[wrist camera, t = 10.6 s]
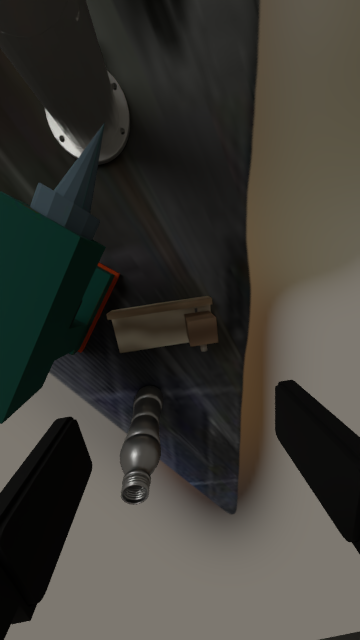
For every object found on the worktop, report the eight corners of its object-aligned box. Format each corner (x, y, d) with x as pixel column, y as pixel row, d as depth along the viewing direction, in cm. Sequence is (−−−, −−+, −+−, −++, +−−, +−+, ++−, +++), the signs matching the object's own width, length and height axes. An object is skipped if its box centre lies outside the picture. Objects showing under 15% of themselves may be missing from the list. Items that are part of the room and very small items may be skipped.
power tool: (116, 184, 32) (36, 45, 12) (152, 207, 33) (131, 115, 14) (50, 335, 38) (-73, 402, 18) (83, 350, 39) (0, 427, 20)
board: (111, 310, 37) (106, 313, 34) (207, 295, 38) (211, 298, 34) (121, 350, 39) (117, 357, 36) (211, 336, 40) (215, 341, 37)
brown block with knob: (184, 314, 37) (187, 321, 31) (208, 310, 37) (216, 317, 31) (188, 343, 38) (191, 355, 32) (211, 339, 38) (219, 351, 33)
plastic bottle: (168, 389, 43) (169, 485, 23) (154, 410, 44) (144, 518, 25) (144, 376, 41) (125, 468, 22) (130, 399, 43) (100, 503, 23)
